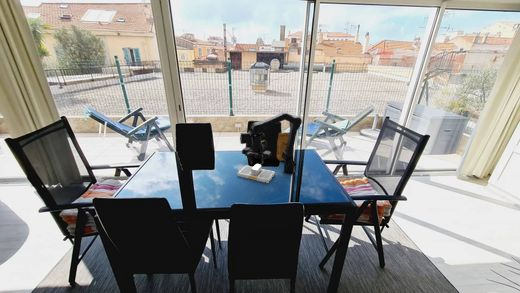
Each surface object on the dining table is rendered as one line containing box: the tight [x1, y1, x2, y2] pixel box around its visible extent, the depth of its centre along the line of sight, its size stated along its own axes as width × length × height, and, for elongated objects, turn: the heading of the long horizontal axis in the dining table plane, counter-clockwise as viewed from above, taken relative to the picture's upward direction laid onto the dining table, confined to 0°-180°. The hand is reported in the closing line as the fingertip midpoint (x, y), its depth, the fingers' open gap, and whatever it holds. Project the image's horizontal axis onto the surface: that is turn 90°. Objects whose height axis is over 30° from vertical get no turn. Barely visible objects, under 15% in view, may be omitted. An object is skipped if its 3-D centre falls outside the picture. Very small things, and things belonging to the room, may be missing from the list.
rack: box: [237, 164, 276, 184], centre depth 146 cm, size 22×12×2 cm, turn 67°
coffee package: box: [276, 131, 295, 162], centre depth 166 cm, size 10×12×22 cm
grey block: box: [251, 163, 263, 177], centre depth 145 cm, size 4×8×6 cm, turn 156°
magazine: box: [254, 139, 270, 160], centre depth 169 cm, size 4×13×15 cm, turn 95°
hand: (256, 164), depth 143 cm, fingers open, 7 cm apart
